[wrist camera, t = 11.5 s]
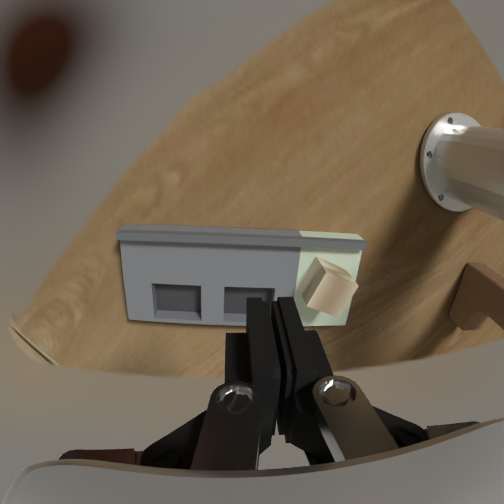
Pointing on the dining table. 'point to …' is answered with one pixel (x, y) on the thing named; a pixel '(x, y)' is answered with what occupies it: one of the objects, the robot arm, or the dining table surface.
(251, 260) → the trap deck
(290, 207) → the dining table surface
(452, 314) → the wooden block
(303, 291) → the ash cube
